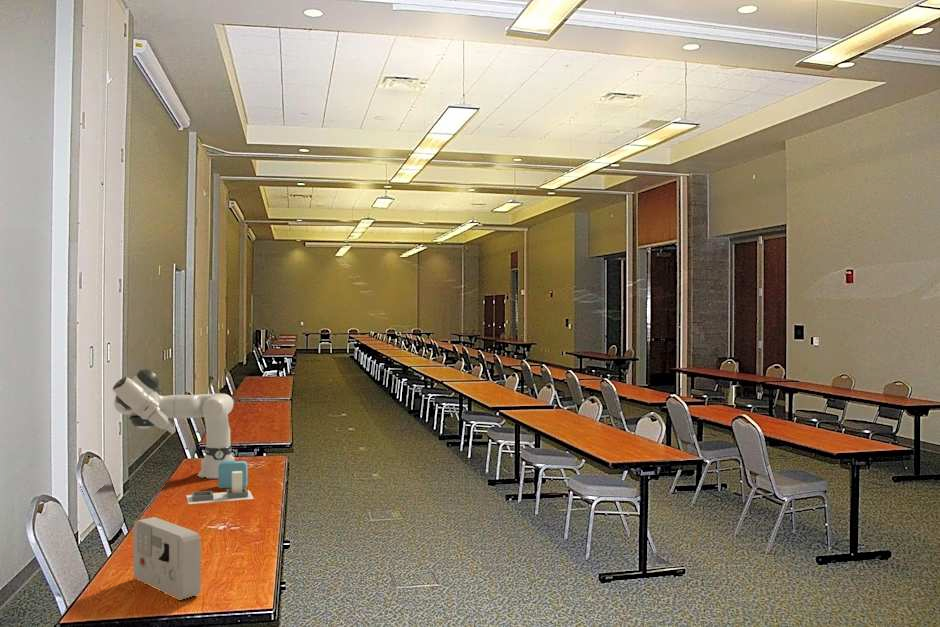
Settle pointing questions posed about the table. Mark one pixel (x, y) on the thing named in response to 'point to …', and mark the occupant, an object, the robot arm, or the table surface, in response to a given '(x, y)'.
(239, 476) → the plug block
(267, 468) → the table surface
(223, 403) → the robot arm
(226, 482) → the data package
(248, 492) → the dock
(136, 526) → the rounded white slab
